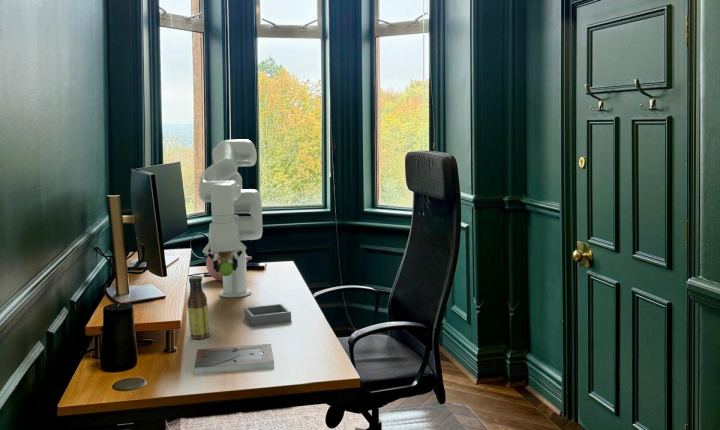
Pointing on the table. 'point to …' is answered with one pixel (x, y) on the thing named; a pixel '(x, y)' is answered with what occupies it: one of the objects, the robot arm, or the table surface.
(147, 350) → the table surface
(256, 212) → the robot arm
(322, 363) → the table surface
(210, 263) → the balloon
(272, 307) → the bin
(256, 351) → the picture frame
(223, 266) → the snail figurine
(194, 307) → the sauce bottle
